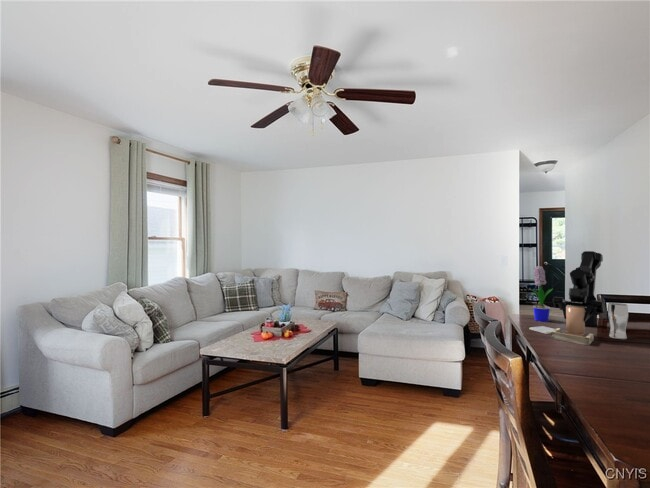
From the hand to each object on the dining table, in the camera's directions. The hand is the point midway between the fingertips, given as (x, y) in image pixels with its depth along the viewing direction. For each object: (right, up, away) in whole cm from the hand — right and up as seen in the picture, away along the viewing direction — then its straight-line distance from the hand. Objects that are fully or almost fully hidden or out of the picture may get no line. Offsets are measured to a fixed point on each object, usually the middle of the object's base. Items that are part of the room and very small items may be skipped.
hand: (574, 319), depth 155 cm
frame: (-3, -8, -3) cm, 9 cm away
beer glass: (+19, -8, 0) cm, 21 cm away
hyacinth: (+7, -8, +33) cm, 35 cm away
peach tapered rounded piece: (+1, -7, +1) cm, 7 cm away
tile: (-6, -8, +12) cm, 16 cm away
